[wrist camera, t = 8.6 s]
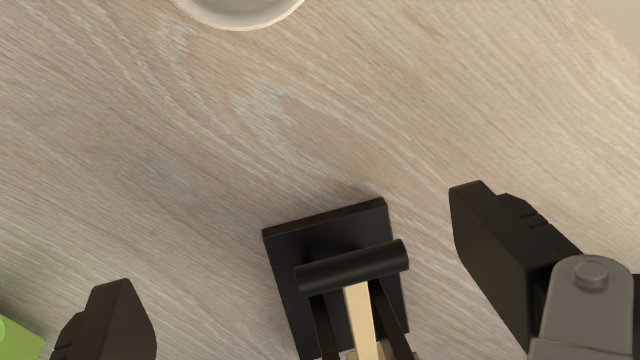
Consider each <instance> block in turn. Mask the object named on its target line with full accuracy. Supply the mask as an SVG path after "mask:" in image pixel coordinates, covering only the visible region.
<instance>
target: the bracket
mask: <svg viewBox="0 0 640 360" xmlns="http://www.w3.org/2000/svg"><path fill="white" fill-rule="evenodd" d="M262 237H263V241H264V244H265V248H266V251H267V254H268V257H269V261H270V264H271V267H272V270H273V274H274V277H275V280H276V283H277V287H278V290H279V293H280V296H281V300H282V303H283V306H284V309H285V312H286V316H287V319H288V322H289V325H290V329H291V332H292V335H293V338H294V342H295V345H296V348H297V351H298V355H299V358H300V360H314V359H318V358H321V357H322V360H340V357H339V352H342V351H346V350H349V349H353V348H355V347H354V342H353V337H352V332H351V327H350V323H349V318H348V313H347V308H346V304H345V299H344V294H343V289H342V288H340V289H337V290H333V291H330V292H326V293H322V294H319V295H315V296H312V297H308V298H304V299H302V298H301V296H300V293H299V289H298V285H297V281H296V277H295V273H294V267H297V266H301V265H305V264H308V263H312V262H316V261H319V260H323V259H327V258H330V257H334V256H338V255H341V254H345V253H349V252H352V251H356V250H360V249H363V248H367V247H370V246H374V245H378V244H381V243H385V242H389V241H392V240H393V234H392V228H391V223H390V217H389V211H388V206H387V203H386V202H385V200H384V198H383V197H382V198H378V199H374V200H371V201H367V202H363V203H360V204H356V205H352V206H348V207H345V208H341V209H337V210H334V211H330V212H326V213H322V214H319V215H315V216H311V217H308V218H304V219H300V220H296V221H293V222H289V223H285V224H281V225H278V226H274V227H270V228H267V229H263V230H262ZM367 284H368V291H369V298H370V304H371V311H372V318H373V324H374V331H375V338H376V342H378V341H380V344H381V345H382V347H383V350H384V353H385V356H386V359H387V360H419V357H418V355H417V353H416V352H412V351H411V349H410V346H409V344H408V342H407V340H406V338H405V335H404V334H406V333H409V332H410V330H409V325H408V319H407V313H406V308H405V302H404V296H403V291H402V285H401V279H400V274H399V272H398V273H395V274H391V275H387V276H384V277H380V278H377V279H373V280H369V281H367Z"/></svg>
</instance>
